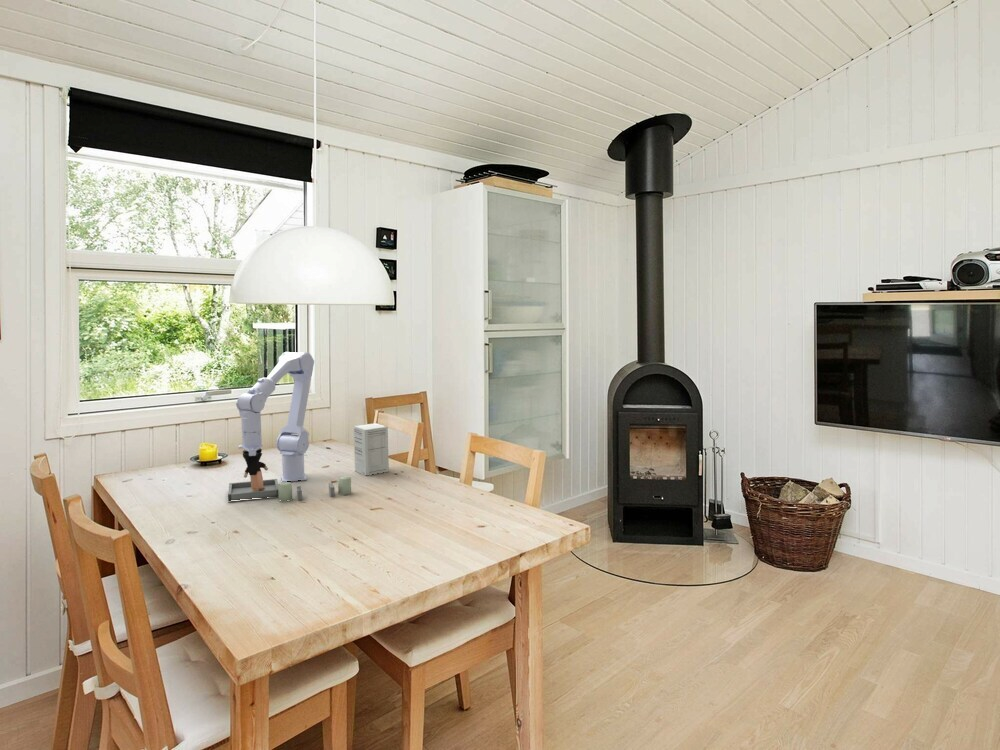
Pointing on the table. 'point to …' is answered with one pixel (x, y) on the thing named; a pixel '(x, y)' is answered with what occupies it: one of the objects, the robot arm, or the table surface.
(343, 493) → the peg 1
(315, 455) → the table surface
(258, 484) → the grandmother figurine
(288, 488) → the pale green rounded block
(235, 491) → the tray
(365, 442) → the supplement box
